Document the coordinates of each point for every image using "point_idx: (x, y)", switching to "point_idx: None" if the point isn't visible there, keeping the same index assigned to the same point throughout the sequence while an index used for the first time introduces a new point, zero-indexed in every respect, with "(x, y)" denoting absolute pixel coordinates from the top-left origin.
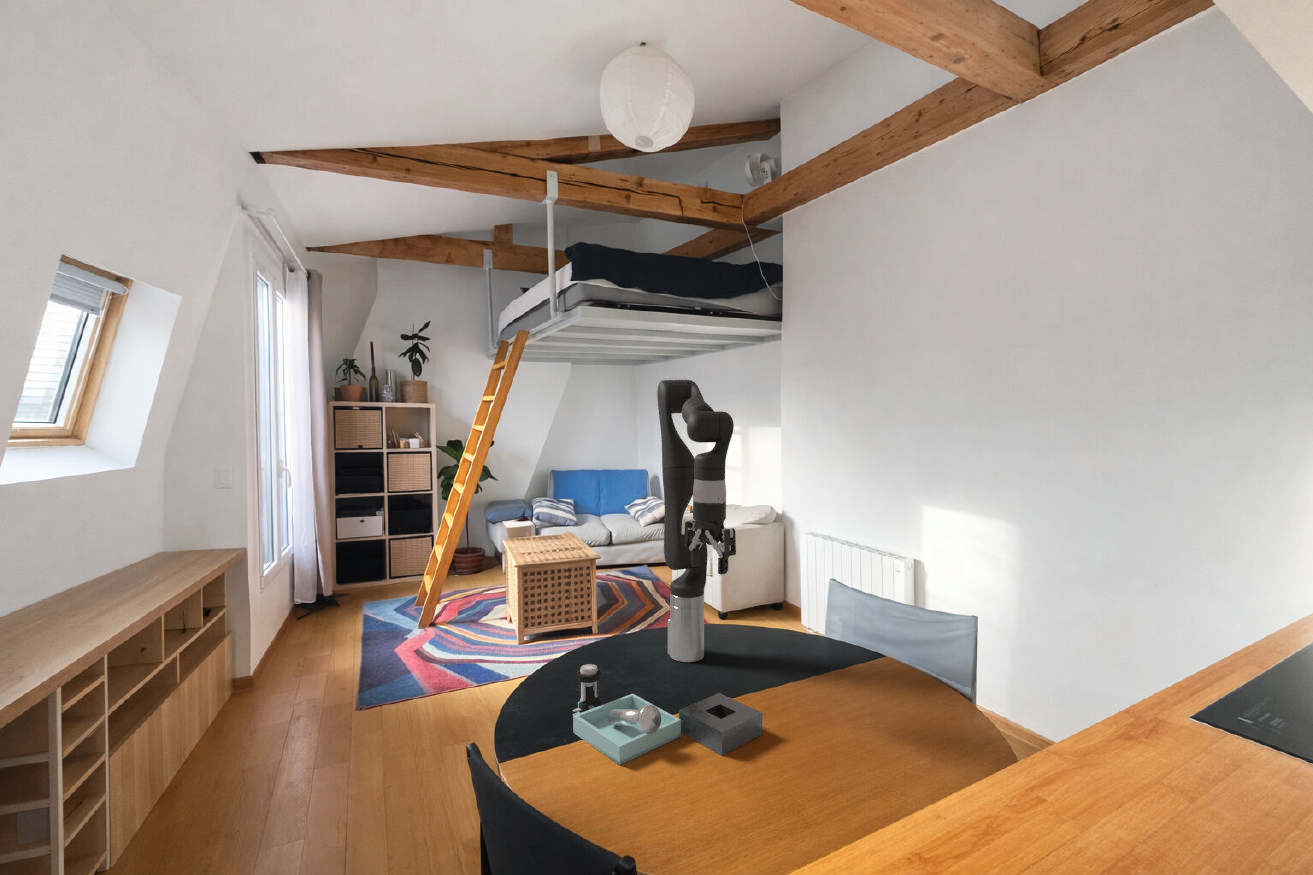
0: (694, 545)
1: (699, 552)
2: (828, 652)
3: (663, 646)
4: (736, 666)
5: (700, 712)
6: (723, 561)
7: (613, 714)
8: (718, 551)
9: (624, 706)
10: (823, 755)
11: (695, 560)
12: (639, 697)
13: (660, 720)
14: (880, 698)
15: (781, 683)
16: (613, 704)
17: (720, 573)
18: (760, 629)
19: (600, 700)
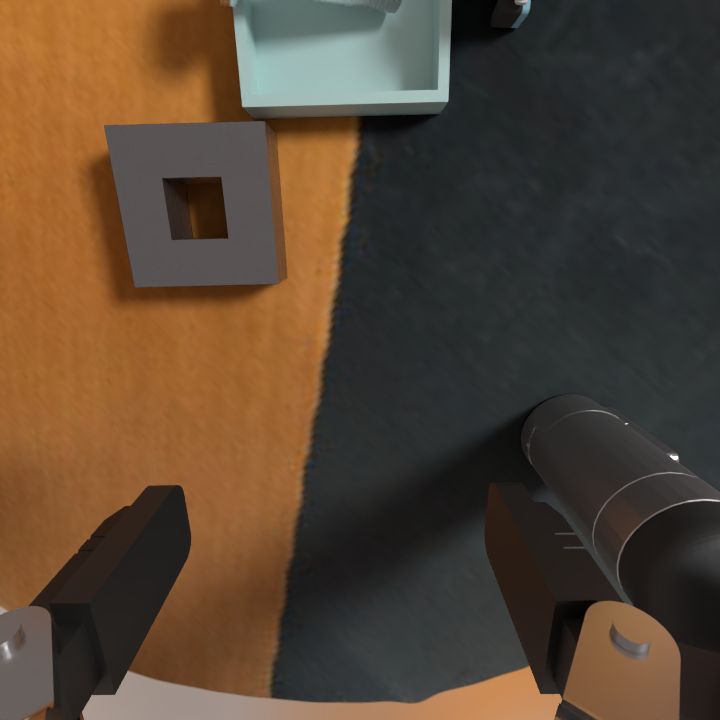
0: (578, 694)
1: (532, 656)
2: (350, 655)
3: (653, 430)
4: (435, 477)
5: (220, 160)
6: (51, 590)
7: None
8: (6, 691)
9: (434, 65)
10: (34, 313)
11: (508, 538)
12: (415, 102)
13: (220, 1)
14: None
15: (308, 484)
16: (439, 9)
17: (149, 487)
18: None
19: (500, 11)
